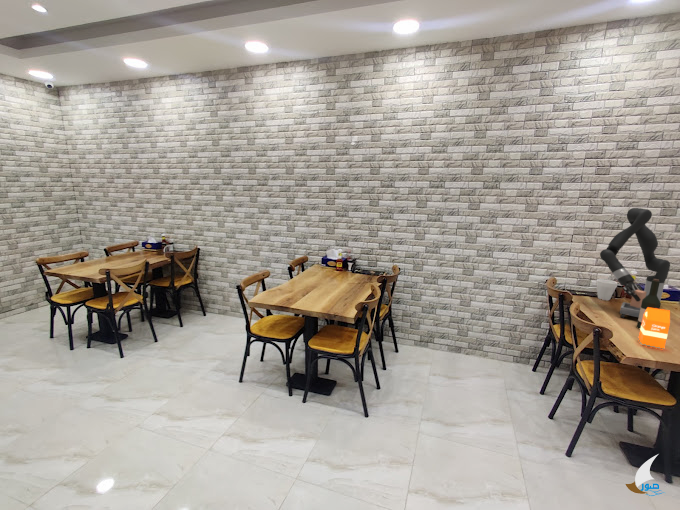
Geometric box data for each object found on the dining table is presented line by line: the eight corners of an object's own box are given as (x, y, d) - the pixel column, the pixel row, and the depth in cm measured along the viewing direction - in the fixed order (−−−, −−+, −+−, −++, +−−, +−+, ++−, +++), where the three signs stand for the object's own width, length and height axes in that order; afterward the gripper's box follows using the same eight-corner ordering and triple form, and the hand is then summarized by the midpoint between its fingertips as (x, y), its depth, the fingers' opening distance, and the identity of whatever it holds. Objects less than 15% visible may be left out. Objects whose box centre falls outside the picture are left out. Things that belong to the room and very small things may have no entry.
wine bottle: (650, 326, 193) (661, 278, 187) (658, 332, 186) (670, 282, 179) (633, 324, 196) (643, 276, 190) (640, 330, 188) (651, 280, 182)
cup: (596, 300, 239) (599, 282, 236) (591, 295, 250) (594, 278, 247) (617, 302, 234) (620, 284, 231) (610, 297, 245) (614, 279, 242)
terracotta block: (630, 305, 206) (633, 290, 204) (634, 304, 208) (637, 289, 206) (638, 308, 202) (641, 292, 200) (643, 307, 204) (646, 291, 202)
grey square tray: (621, 311, 216) (623, 302, 215) (649, 317, 207) (652, 307, 205) (618, 317, 207) (620, 307, 205) (648, 324, 197) (651, 313, 195)
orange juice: (664, 349, 166) (672, 312, 162) (641, 345, 170) (649, 309, 166) (659, 343, 172) (667, 308, 168) (637, 339, 177) (645, 304, 173)
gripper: (621, 274, 205) (640, 299, 197) (635, 272, 210) (654, 296, 202) (610, 280, 211) (628, 304, 203) (624, 278, 216) (642, 301, 208)
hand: (641, 300), depth 202 cm, fingers closed on terracotta block, 4 cm apart
